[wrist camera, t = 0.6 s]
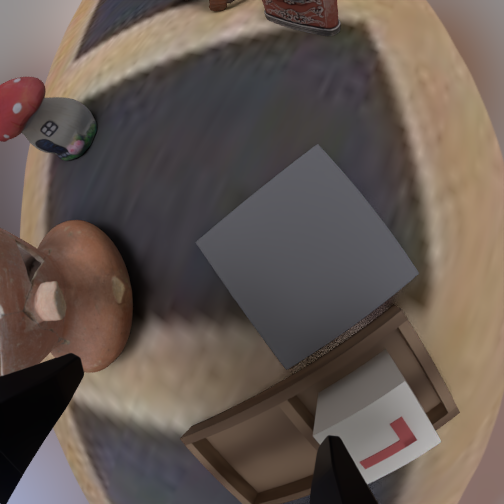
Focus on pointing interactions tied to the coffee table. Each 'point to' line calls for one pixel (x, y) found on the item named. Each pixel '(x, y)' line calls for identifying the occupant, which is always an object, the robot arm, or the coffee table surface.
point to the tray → (307, 415)
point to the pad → (306, 257)
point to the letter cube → (375, 418)
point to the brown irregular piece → (218, 4)
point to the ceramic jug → (63, 298)
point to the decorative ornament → (45, 119)
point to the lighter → (305, 15)
